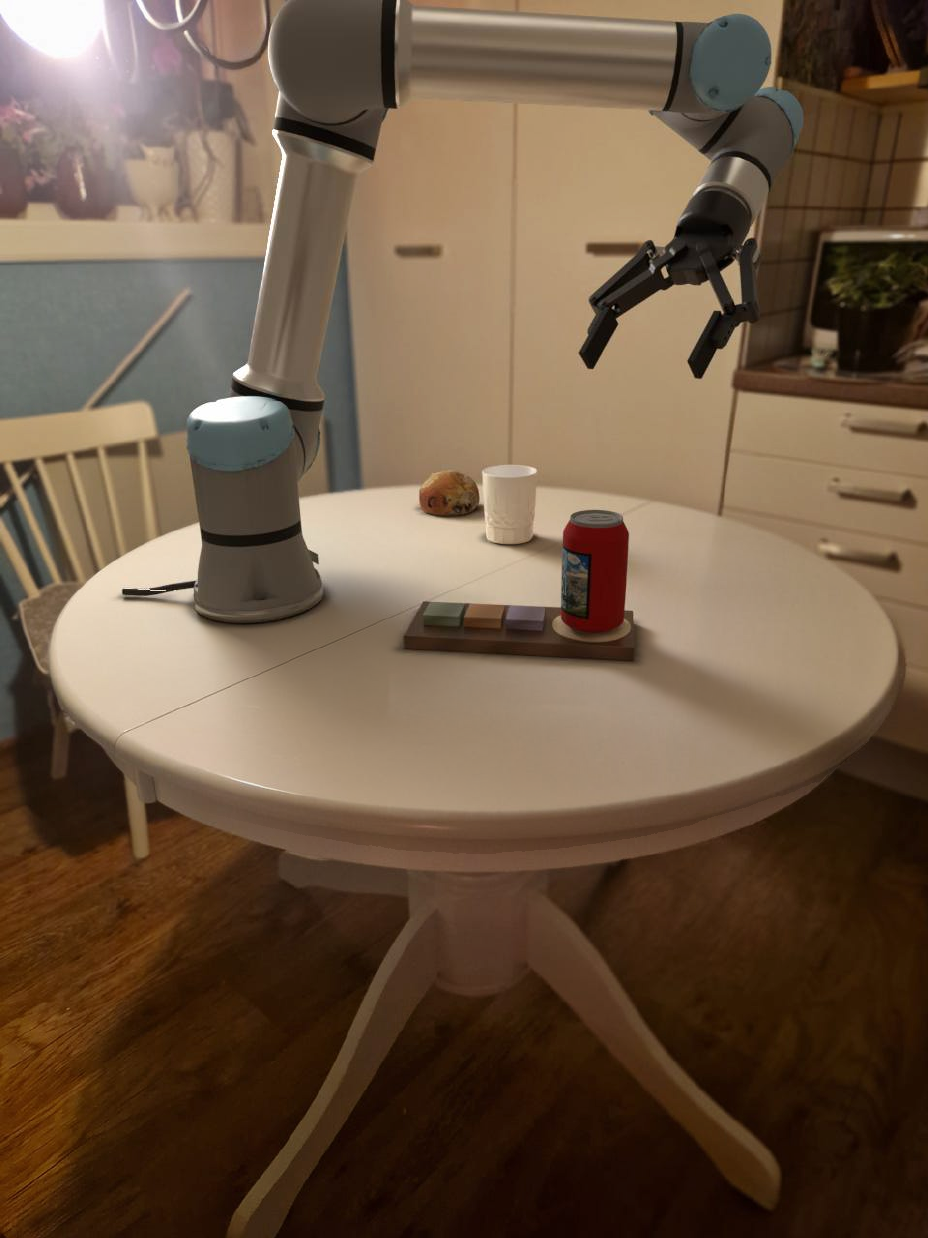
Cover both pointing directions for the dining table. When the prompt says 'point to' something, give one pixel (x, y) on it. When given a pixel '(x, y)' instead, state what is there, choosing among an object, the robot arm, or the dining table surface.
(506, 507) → the white cup
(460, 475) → the bread roll
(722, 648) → the dining table surface
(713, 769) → the dining table surface
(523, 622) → the paint palette tray
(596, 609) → the beverage can
